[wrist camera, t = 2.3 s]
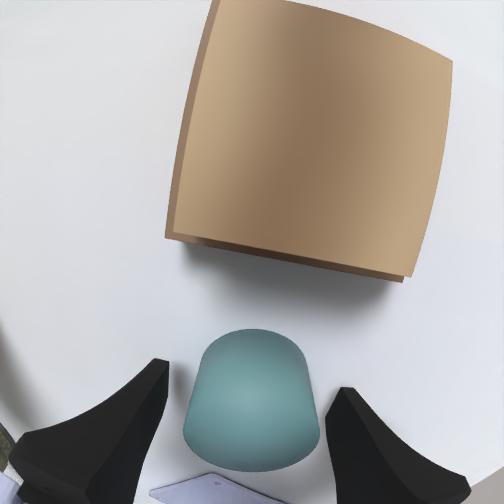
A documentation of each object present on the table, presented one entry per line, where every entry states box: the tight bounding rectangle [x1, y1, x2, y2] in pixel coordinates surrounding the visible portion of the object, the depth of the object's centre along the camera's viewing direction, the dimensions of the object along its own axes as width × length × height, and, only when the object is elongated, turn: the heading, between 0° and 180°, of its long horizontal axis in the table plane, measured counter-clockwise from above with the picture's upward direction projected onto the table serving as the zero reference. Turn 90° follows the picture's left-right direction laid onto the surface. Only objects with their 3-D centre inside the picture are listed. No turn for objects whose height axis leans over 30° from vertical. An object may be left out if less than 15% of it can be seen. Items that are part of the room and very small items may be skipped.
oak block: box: [173, 0, 453, 277], centre depth 7 cm, size 6×6×2 cm
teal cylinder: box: [183, 329, 320, 472], centre depth 11 cm, size 5×5×4 cm
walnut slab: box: [165, 0, 404, 283], centre depth 9 cm, size 8×8×2 cm
